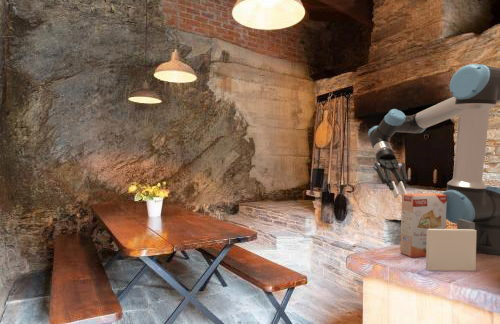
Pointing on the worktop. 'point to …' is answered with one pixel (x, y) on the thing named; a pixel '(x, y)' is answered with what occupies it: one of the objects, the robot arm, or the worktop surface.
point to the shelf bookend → (452, 248)
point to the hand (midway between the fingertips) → (400, 195)
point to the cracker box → (420, 220)
